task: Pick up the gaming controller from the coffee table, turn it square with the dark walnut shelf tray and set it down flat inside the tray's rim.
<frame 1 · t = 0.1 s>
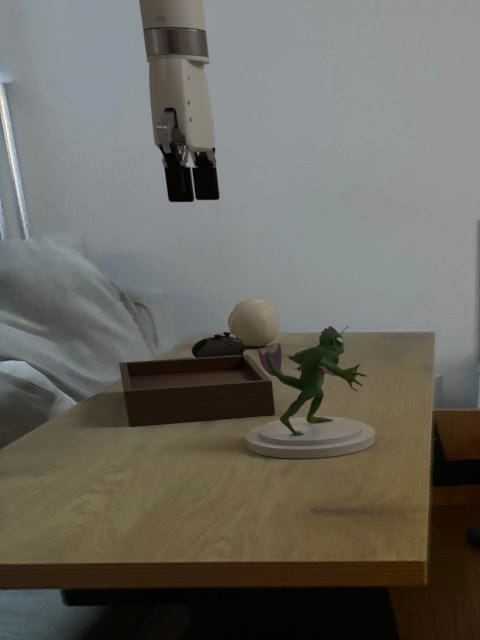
hand: (195, 200, 129), 20 cm above the table, tool pointing down, fingers open, 9 cm apart
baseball: (256, 347, 144), on the table
gaming controller: (220, 363, 132), on the table
shelf tray: (195, 403, 108), on the table
monster figurine: (311, 443, 93), on the table
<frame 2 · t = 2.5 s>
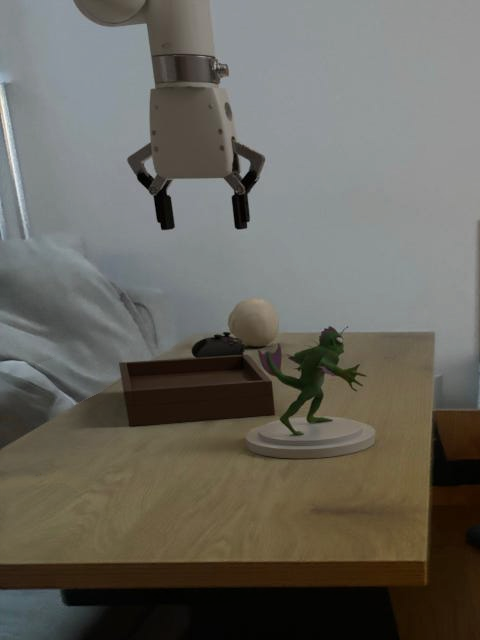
hand: (204, 229, 126), 16 cm above the table, tool pointing down, fingers open, 9 cm apart
nothing on the table moved.
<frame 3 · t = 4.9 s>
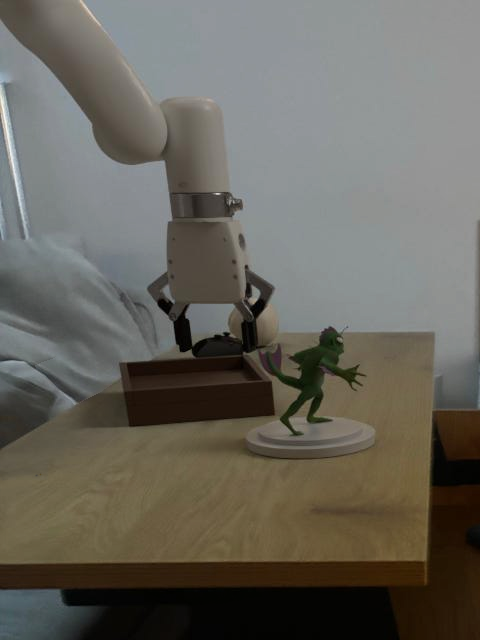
hand: (218, 350, 132), 1 cm above the table, tool pointing down, fingers closed on gaming controller, 8 cm apart
gaming controller: (220, 363, 132), on the table, touching gripper
everything else where it was.
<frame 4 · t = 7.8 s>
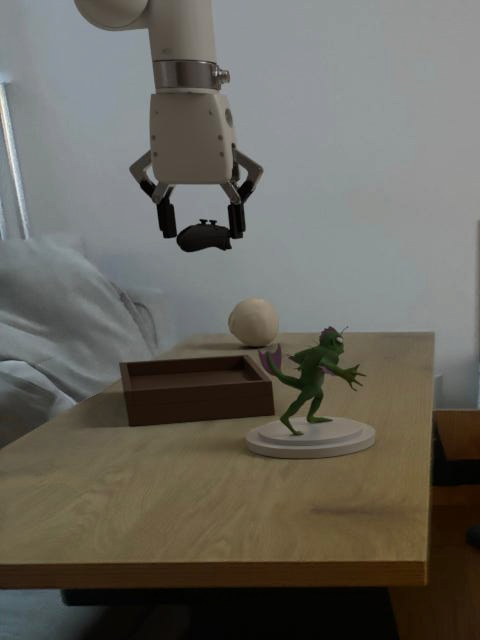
hand: (203, 237, 126), 16 cm above the table, tool pointing down, fingers closed on gaming controller, 8 cm apart
gaming controller: (205, 251, 126), point 14 cm above the table, touching gripper
everything else where it was.
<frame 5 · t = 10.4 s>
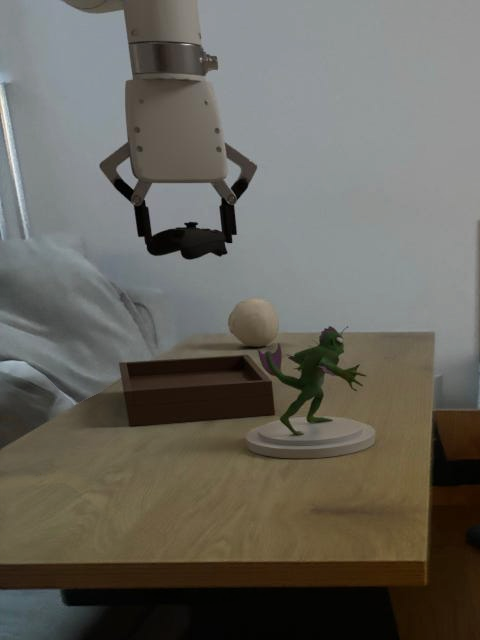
hand: (188, 242, 112), 16 cm above the table, tool pointing down, fingers closed on gaming controller, 8 cm apart
gaming controller: (191, 258, 113), point 14 cm above the table, touching gripper
everything else where it was.
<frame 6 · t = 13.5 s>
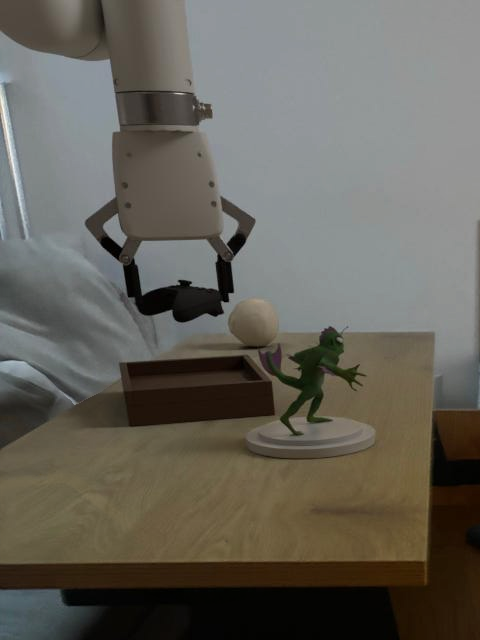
hand: (182, 302, 104), 11 cm above the table, tool pointing down, fingers closed on gaming controller, 8 cm apart
gaming controller: (185, 318, 105), point 9 cm above the table, touching gripper
everything else where it was.
when the fingers open (3 cm above the table, at t = 16.0 s): gaming controller stays where it is, resting on shelf tray.
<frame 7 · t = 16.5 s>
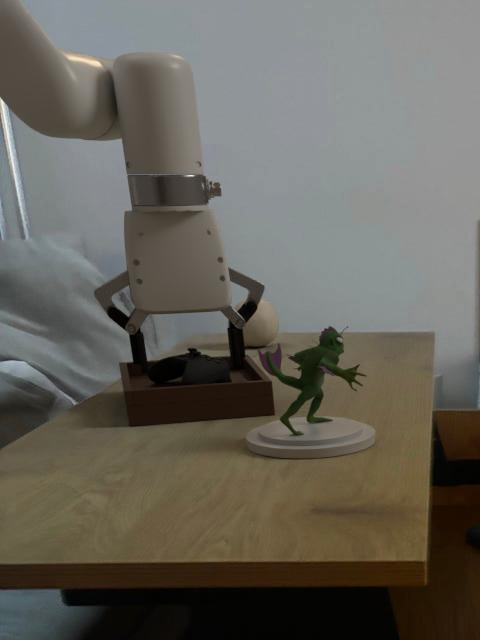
hand: (191, 368, 107), 4 cm above the table, tool pointing down, fingers open, 9 cm apart
gaming controller: (194, 386, 108), point 2 cm above the table, touching shelf tray
everything else where it was.
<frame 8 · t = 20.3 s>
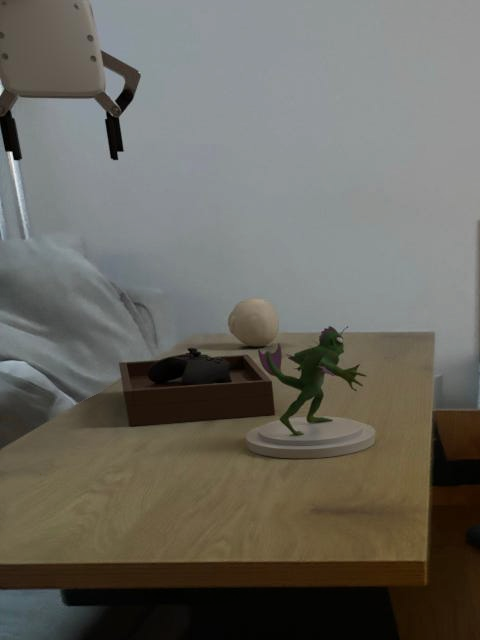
hand: (67, 160, 105), 24 cm above the table, tool pointing down, fingers open, 9 cm apart
nothing on the table moved.
at the end: gaming controller inside the target area in the shelf tray (0.1 cm from its centre), point 1.8 cm above the shelf tray's base; gaming controller tilted 0°; the gripper is holding nothing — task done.
